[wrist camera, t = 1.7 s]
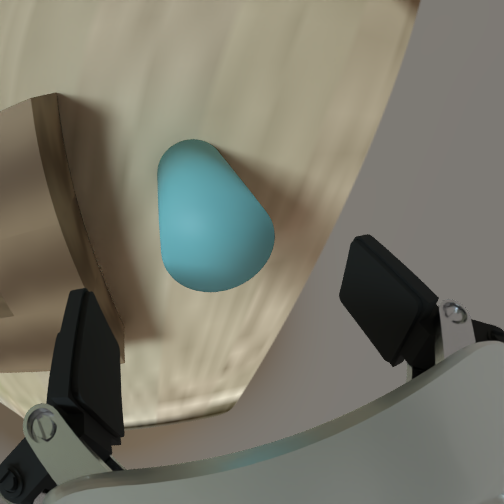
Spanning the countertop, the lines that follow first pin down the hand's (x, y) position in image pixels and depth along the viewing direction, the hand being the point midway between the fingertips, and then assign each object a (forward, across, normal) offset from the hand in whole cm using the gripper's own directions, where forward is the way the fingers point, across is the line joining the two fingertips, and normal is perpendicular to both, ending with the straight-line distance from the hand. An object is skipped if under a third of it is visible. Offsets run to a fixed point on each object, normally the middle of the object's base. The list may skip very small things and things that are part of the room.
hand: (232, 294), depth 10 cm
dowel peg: (+11, 0, -1) cm, 11 cm away
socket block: (+11, +18, +2) cm, 21 cm away
